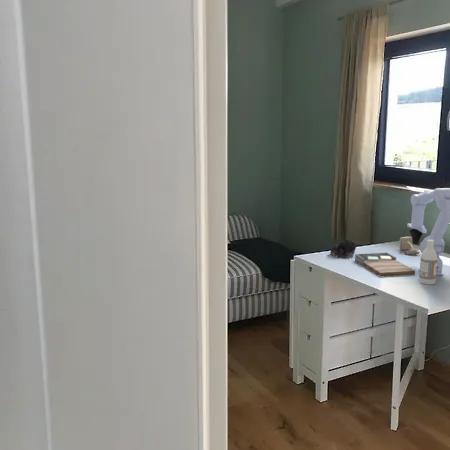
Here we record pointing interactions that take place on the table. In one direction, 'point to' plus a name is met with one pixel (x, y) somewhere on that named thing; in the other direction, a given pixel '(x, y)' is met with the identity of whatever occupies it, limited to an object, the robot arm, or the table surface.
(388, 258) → the cream tile
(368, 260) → the sage tile
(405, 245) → the decorative sculpture
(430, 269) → the bath foam
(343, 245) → the crystal cluster
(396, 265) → the walnut plate
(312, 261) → the table surface
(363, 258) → the box
